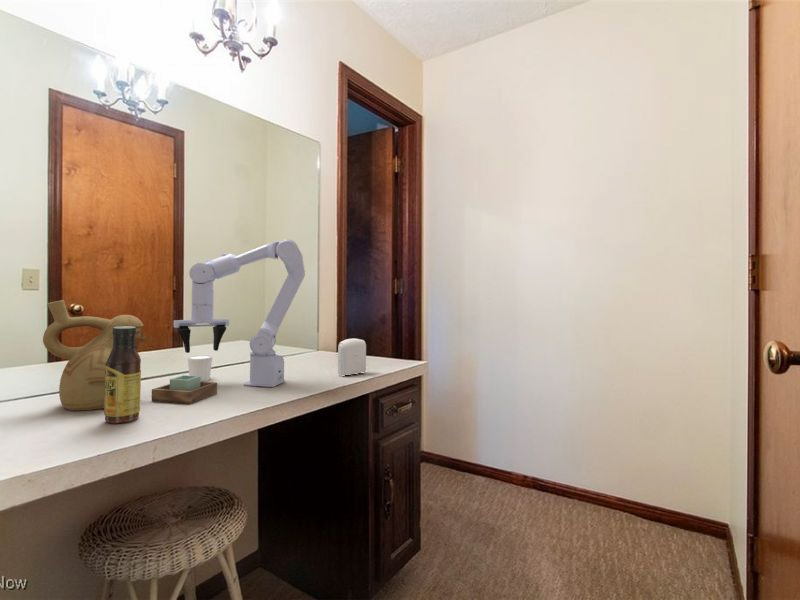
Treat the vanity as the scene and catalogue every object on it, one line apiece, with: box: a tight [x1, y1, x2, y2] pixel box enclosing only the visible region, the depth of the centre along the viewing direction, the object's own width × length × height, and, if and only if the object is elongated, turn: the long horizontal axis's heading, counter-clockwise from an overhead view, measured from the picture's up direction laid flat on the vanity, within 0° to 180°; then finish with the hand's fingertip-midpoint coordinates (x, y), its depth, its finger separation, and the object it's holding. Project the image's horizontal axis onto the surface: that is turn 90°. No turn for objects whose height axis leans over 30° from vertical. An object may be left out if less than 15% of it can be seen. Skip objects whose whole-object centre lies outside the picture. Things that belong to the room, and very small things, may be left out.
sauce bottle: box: [103, 326, 142, 425], centre depth 84 cm, size 7×6×20 cm
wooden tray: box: [151, 381, 218, 405], centre depth 102 cm, size 11×11×3 cm
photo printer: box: [337, 337, 367, 376], centre depth 135 cm, size 10×4×12 cm, turn 133°
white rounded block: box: [187, 355, 213, 382], centre depth 123 cm, size 7×7×7 cm
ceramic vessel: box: [42, 299, 147, 411], centre depth 95 cm, size 17×20×25 cm
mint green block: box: [169, 374, 201, 391], centre depth 102 cm, size 5×5×4 cm
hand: (201, 351), depth 116 cm, fingers open, 7 cm apart
